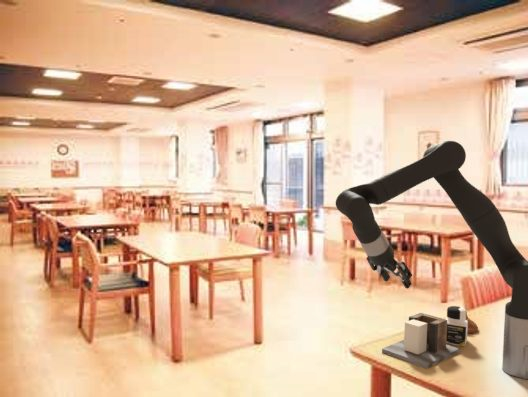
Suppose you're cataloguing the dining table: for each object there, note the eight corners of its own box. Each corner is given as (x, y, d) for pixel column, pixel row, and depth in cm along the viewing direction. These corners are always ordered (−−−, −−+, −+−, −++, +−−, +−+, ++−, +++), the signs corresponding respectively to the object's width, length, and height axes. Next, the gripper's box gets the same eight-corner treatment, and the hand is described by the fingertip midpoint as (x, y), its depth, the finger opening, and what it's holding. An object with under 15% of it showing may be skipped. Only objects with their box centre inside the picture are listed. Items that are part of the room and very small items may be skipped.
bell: (449, 321, 186) (450, 303, 186) (481, 328, 178) (482, 309, 178) (439, 329, 177) (440, 310, 177) (472, 337, 169) (473, 317, 169)
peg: (417, 354, 148) (418, 326, 148) (403, 349, 152) (404, 322, 151) (426, 350, 151) (427, 323, 151) (412, 346, 155) (413, 319, 155)
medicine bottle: (442, 342, 163) (444, 308, 162) (445, 336, 169) (446, 303, 168) (465, 346, 159) (466, 311, 159) (467, 340, 166) (468, 306, 165)
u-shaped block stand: (426, 368, 142) (428, 334, 141) (382, 352, 154) (383, 320, 153) (459, 352, 155) (460, 320, 154) (415, 338, 167) (416, 309, 166)
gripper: (402, 242, 135) (423, 279, 142) (366, 233, 147) (387, 268, 154) (387, 260, 132) (409, 298, 139) (352, 250, 144) (374, 285, 151)
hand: (397, 282), depth 147 cm, fingers open, 8 cm apart
